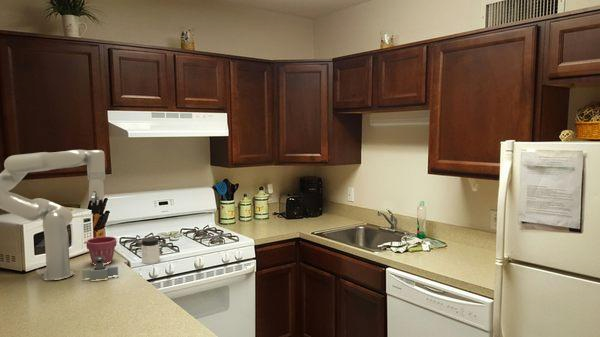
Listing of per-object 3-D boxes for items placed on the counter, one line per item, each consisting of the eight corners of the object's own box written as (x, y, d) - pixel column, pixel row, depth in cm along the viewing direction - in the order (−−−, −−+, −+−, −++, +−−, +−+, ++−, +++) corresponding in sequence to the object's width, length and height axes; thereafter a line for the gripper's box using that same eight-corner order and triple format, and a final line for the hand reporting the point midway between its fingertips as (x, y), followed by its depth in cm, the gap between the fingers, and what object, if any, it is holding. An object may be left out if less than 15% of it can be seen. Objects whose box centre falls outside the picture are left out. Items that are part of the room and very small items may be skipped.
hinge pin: (93, 280, 191) (92, 259, 190) (95, 277, 195) (94, 256, 194) (105, 279, 192) (104, 258, 191) (106, 276, 197) (105, 255, 196)
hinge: (80, 282, 188) (80, 271, 188) (84, 277, 195) (84, 267, 195) (116, 279, 192) (116, 269, 192) (119, 274, 199) (118, 264, 199)
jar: (138, 262, 219) (137, 240, 218) (151, 258, 226) (150, 236, 225) (150, 265, 214) (149, 242, 214) (162, 260, 221) (162, 238, 221)
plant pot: (115, 266, 212) (114, 241, 211) (84, 269, 208) (83, 243, 207) (118, 258, 225) (118, 235, 225) (90, 261, 222) (89, 237, 221)
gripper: (92, 174, 204) (93, 209, 206) (83, 178, 188) (84, 215, 189) (108, 174, 206) (109, 208, 208) (101, 177, 190) (102, 214, 191)
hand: (97, 211), depth 198 cm, fingers open, 9 cm apart
